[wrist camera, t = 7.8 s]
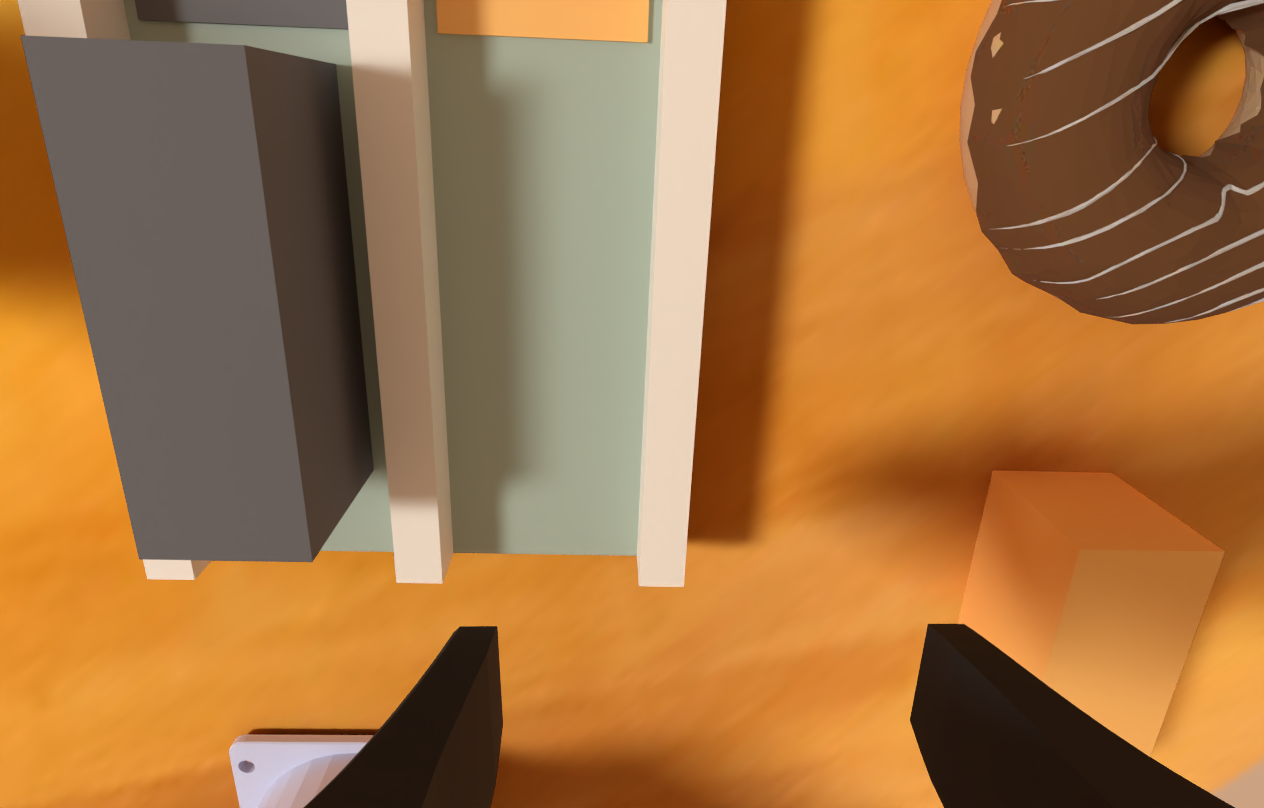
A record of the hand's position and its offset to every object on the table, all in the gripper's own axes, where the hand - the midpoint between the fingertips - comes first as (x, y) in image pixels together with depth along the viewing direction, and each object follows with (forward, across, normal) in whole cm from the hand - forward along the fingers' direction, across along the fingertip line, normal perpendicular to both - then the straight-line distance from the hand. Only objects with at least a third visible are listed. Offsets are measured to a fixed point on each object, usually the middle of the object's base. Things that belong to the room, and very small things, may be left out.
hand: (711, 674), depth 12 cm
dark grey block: (+8, +10, -5) cm, 14 cm away
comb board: (+9, +6, -5) cm, 12 cm away
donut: (+10, -12, -9) cm, 18 cm away
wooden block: (+10, -11, +6) cm, 16 cm away
